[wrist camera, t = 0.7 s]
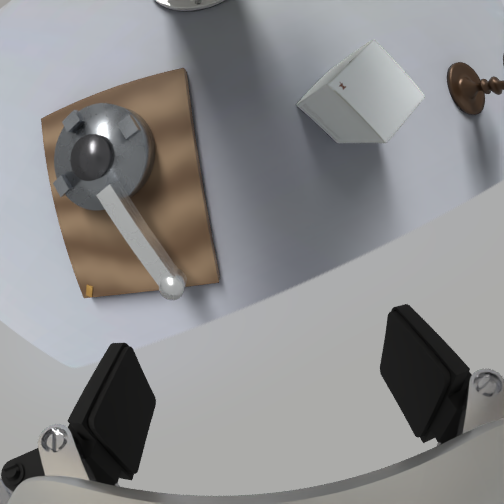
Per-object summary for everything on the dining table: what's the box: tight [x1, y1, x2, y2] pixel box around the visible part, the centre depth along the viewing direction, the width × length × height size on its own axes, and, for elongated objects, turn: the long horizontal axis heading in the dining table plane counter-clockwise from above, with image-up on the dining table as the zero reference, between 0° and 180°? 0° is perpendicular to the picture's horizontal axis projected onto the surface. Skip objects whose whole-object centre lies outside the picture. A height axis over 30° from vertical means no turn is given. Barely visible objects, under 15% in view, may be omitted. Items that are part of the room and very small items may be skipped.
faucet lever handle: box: [53, 103, 187, 300], centre depth 28 cm, size 24×12×7 cm, turn 30°
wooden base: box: [41, 68, 220, 298], centre depth 32 cm, size 27×21×2 cm
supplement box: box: [296, 40, 425, 143], centre depth 25 cm, size 7×7×13 cm
